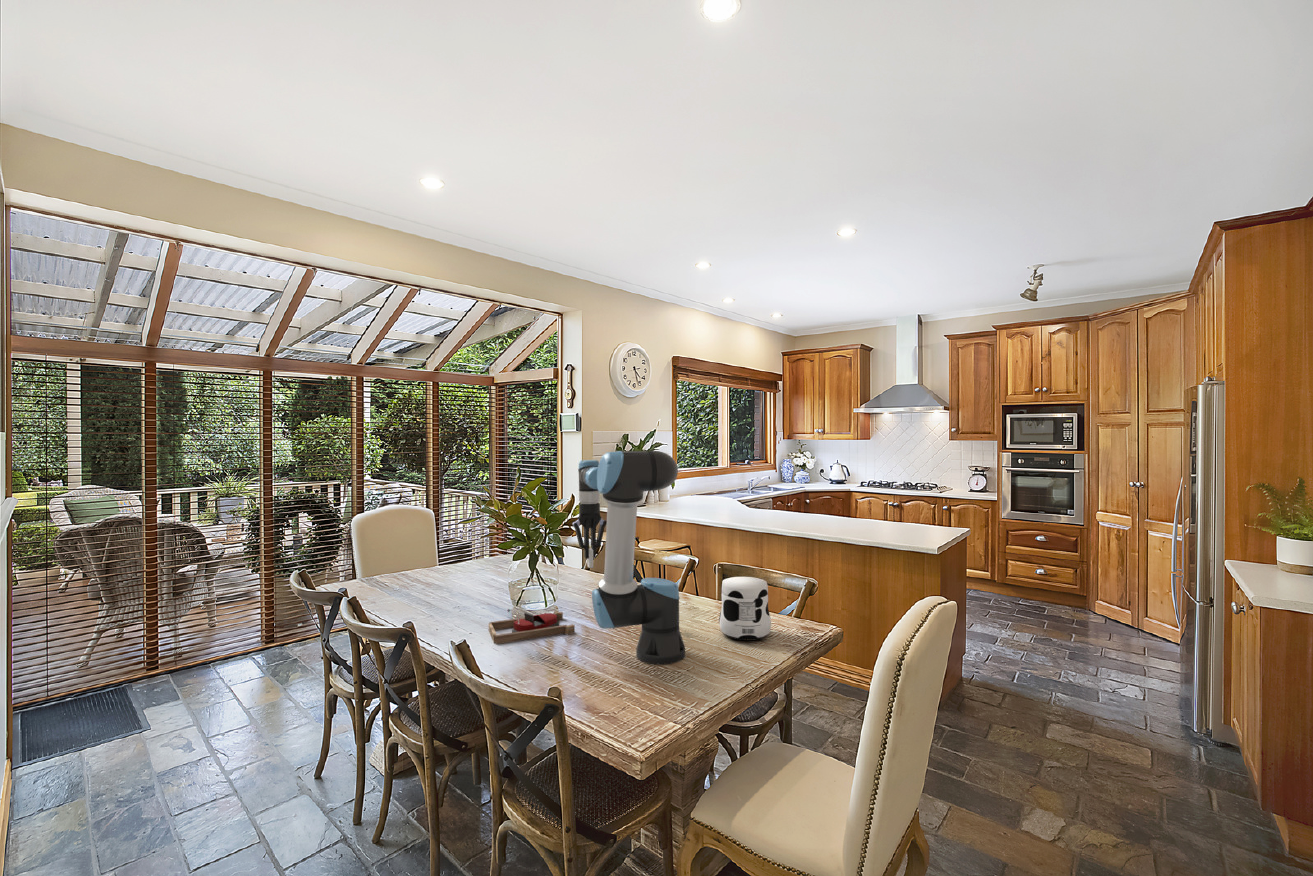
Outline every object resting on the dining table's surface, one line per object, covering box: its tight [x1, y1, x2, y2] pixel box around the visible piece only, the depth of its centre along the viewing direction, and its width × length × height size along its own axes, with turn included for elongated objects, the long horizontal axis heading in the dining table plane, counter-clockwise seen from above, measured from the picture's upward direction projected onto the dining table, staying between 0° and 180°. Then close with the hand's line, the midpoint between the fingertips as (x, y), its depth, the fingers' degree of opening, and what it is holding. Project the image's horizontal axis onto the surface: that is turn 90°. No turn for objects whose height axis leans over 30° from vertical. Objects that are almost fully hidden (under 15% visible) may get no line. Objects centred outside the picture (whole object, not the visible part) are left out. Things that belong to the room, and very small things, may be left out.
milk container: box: [718, 576, 772, 641], centre depth 194 cm, size 17×17×18 cm
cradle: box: [488, 611, 576, 645], centre depth 201 cm, size 19×27×2 cm
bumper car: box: [507, 608, 560, 633], centre depth 201 cm, size 10×20×10 cm, turn 138°
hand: (590, 567), depth 210 cm, fingers closed
